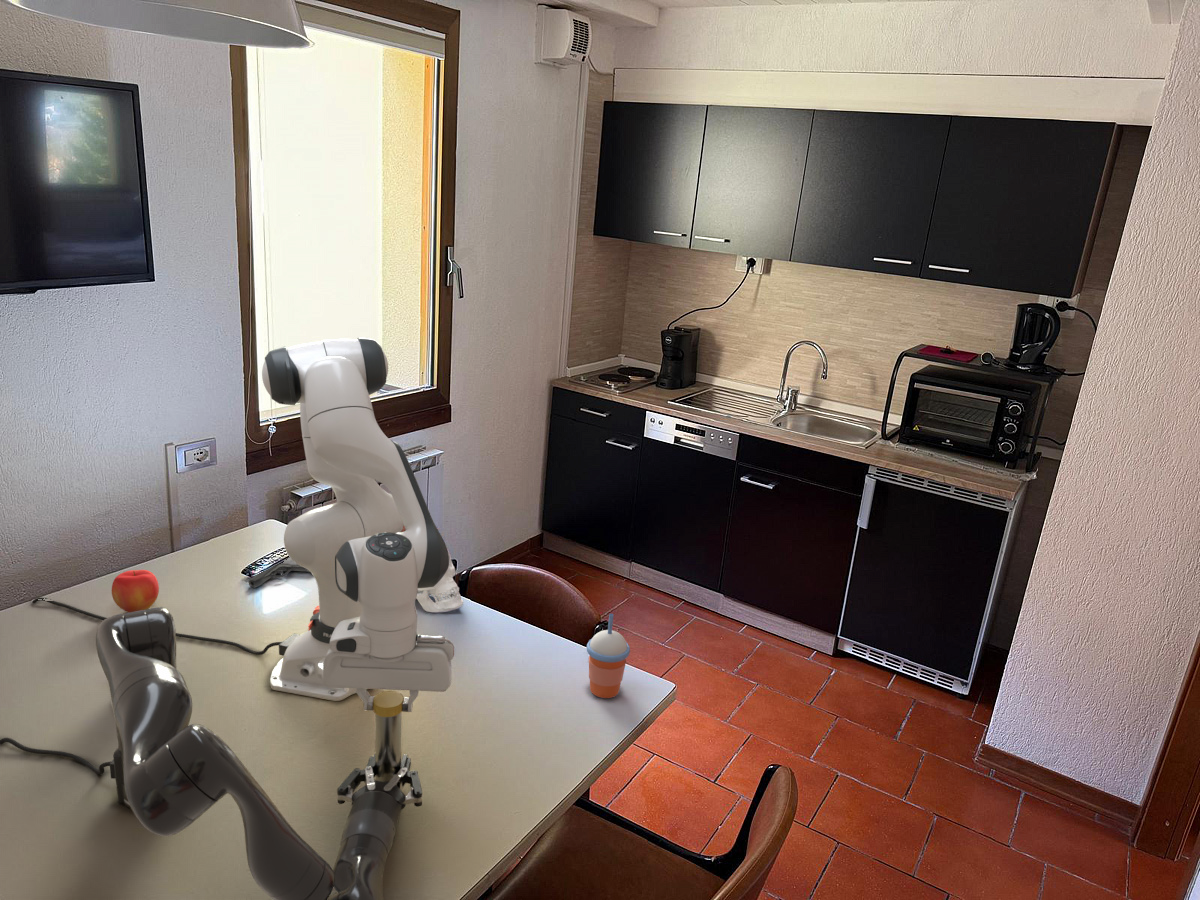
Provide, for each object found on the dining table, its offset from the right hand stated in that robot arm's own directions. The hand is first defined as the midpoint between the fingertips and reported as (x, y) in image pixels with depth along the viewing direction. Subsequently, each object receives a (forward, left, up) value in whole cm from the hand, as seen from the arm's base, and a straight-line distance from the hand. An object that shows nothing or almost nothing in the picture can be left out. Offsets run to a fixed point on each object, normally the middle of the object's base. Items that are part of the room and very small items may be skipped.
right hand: (388, 709), depth 140 cm
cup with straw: (+38, +37, -18) cm, 56 cm away
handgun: (-44, +80, -18) cm, 93 cm away
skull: (-7, +72, -18) cm, 74 cm away
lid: (0, 0, +2) cm, 2 cm away
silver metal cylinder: (0, 0, -18) cm, 18 cm away
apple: (-70, +58, -18) cm, 93 cm away
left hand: (0, +3, -12) cm, 12 cm away
